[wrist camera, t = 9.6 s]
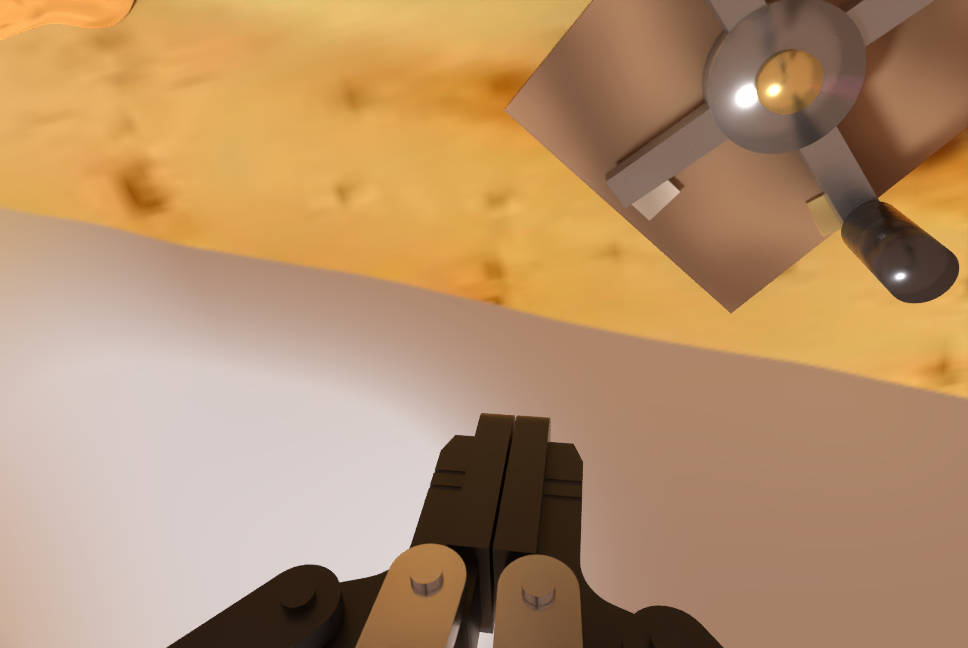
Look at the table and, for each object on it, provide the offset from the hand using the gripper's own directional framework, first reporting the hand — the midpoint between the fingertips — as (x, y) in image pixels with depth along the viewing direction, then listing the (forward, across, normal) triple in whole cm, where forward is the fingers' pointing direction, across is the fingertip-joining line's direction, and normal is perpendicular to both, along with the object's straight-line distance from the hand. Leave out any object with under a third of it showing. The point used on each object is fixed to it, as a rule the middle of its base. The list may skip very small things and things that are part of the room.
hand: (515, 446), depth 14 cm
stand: (+23, -9, -4) cm, 25 cm away
